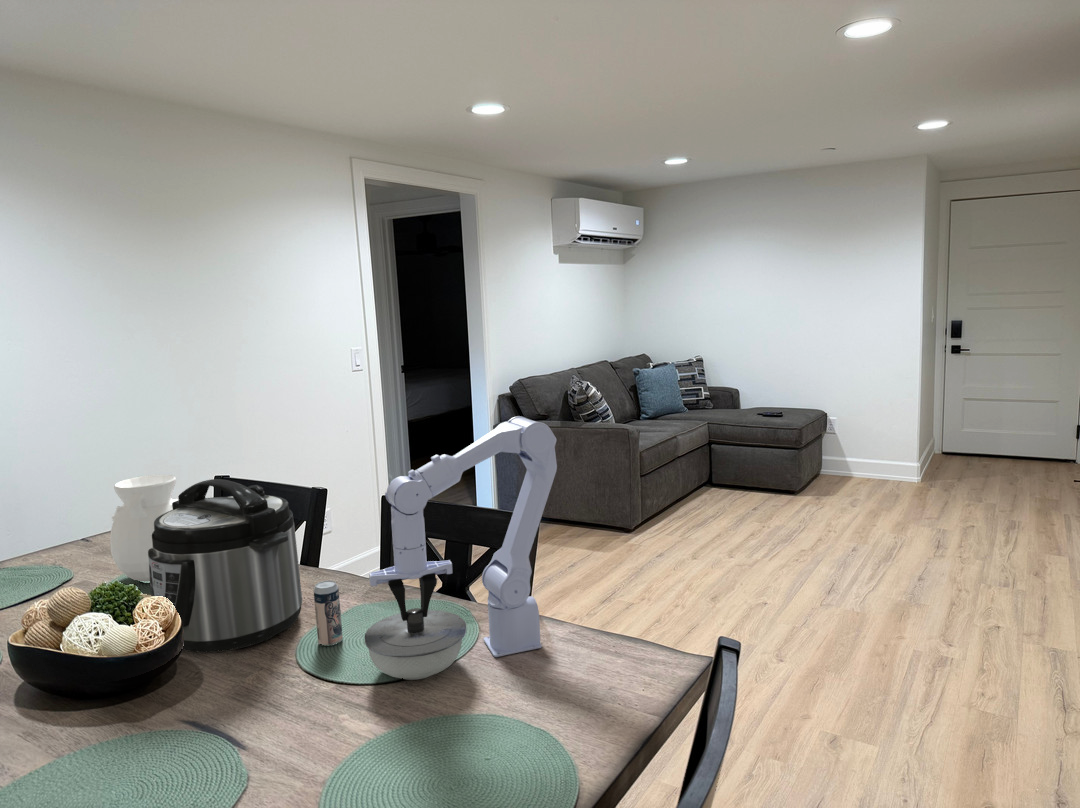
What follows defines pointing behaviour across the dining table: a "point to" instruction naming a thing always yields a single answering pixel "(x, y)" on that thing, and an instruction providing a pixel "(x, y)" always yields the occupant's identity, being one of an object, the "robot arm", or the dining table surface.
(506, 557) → the robot arm
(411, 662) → the cereal bowl
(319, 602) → the beer can
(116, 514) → the pitcher
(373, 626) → the lid
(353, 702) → the dining table surface
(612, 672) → the dining table surface
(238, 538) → the pressure cooker
